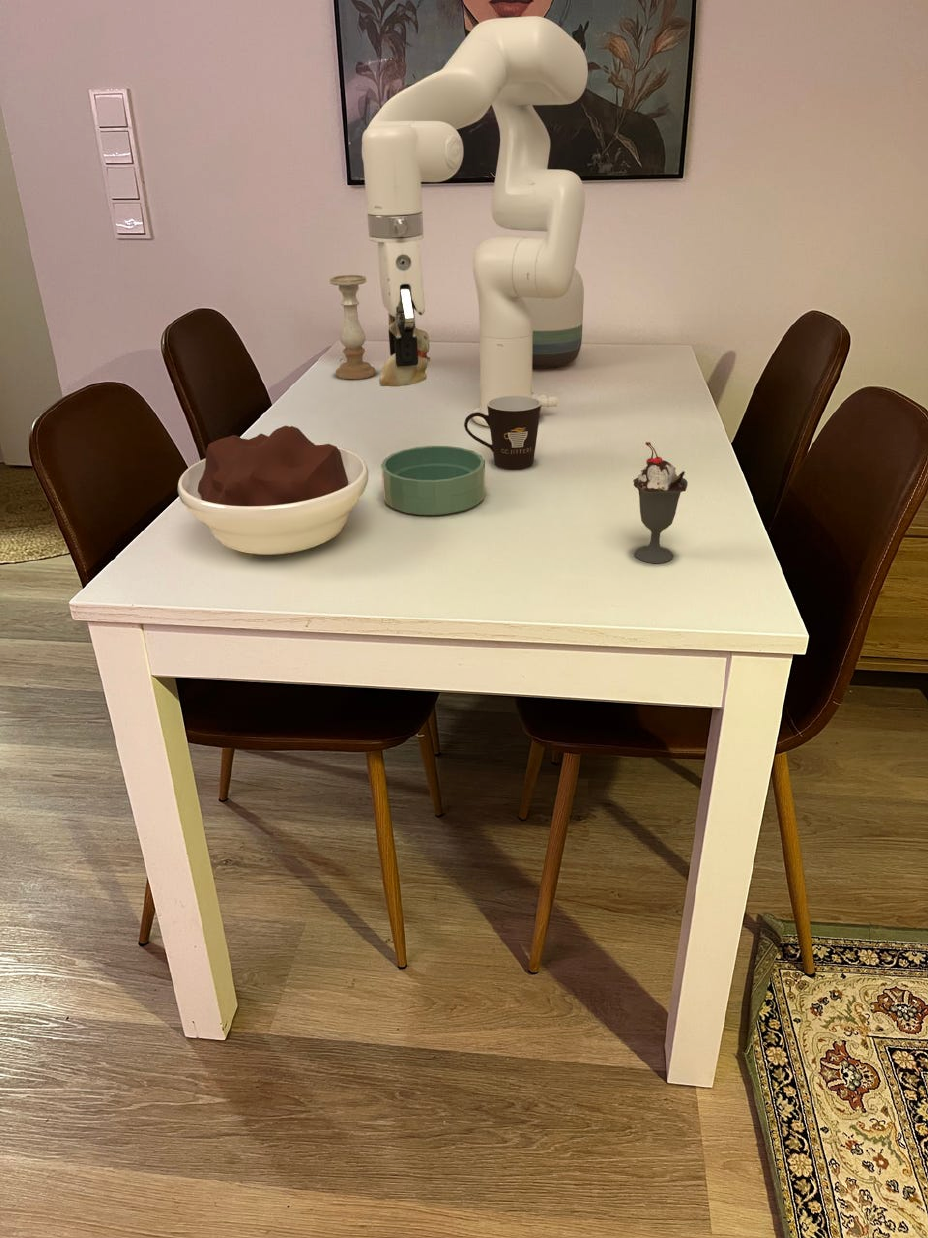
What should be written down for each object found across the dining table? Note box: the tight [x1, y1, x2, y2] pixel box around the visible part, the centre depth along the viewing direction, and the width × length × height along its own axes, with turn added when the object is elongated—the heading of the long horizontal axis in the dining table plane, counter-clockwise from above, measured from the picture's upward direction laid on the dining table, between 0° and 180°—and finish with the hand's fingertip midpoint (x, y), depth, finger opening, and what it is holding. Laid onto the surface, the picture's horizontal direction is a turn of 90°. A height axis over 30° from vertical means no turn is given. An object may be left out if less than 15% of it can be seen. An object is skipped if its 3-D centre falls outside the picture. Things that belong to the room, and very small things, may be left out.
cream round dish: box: [176, 425, 369, 556], centre depth 121 cm, size 25×25×15 cm
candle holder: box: [329, 274, 377, 380], centre depth 195 cm, size 9×9×20 cm
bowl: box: [380, 445, 486, 516], centre depth 135 cm, size 15×15×6 cm
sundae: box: [632, 441, 689, 564], centre depth 114 cm, size 7×7×15 cm
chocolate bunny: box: [378, 313, 431, 387], centre depth 133 cm, size 6×8×10 cm
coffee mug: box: [463, 395, 542, 471], centre depth 147 cm, size 12×9×10 cm
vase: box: [522, 268, 585, 369], centre depth 198 cm, size 17×17×24 cm
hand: (404, 359), depth 134 cm, fingers closed on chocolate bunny, 4 cm apart
